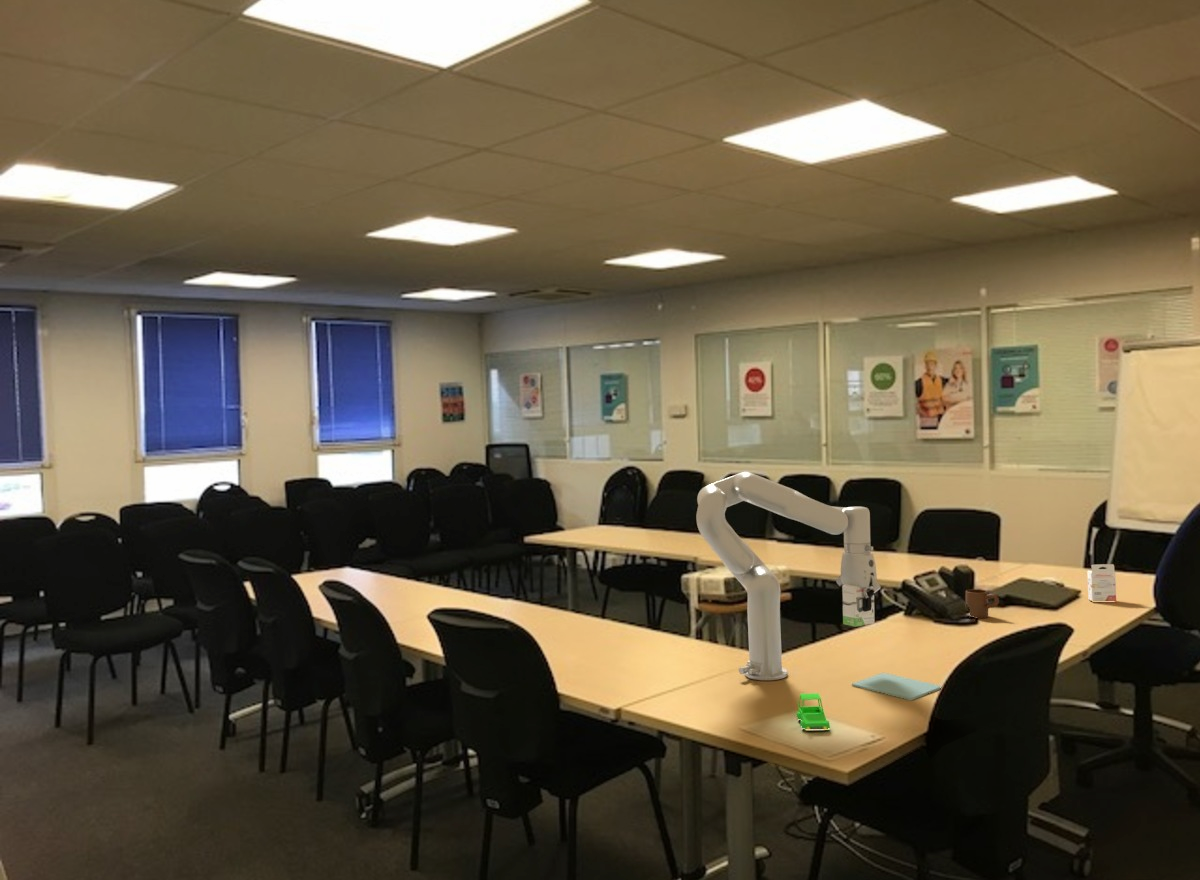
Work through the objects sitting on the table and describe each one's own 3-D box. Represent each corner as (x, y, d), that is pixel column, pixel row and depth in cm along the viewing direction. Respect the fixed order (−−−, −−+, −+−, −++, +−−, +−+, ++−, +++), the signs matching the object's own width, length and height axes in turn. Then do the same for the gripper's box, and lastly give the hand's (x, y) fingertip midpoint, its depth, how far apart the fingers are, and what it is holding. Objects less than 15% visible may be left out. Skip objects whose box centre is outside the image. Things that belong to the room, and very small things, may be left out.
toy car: (796, 718, 236) (795, 693, 236) (822, 718, 236) (821, 692, 236) (802, 734, 225) (801, 707, 225) (831, 733, 225) (829, 706, 225)
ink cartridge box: (1111, 600, 354) (1110, 562, 354) (1116, 603, 349) (1115, 564, 349) (1087, 600, 356) (1086, 562, 355) (1092, 603, 351) (1091, 564, 350)
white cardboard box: (854, 627, 270) (854, 587, 269) (842, 624, 274) (841, 584, 274) (875, 623, 274) (874, 583, 274) (862, 620, 278) (861, 581, 278)
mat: (911, 700, 246) (911, 698, 246) (851, 685, 261) (851, 683, 261) (942, 688, 255) (942, 686, 255) (883, 674, 270) (883, 672, 270)
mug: (1004, 618, 333) (1003, 592, 333) (993, 621, 328) (993, 595, 328) (972, 613, 342) (971, 588, 342) (962, 617, 338) (961, 591, 337)
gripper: (889, 549, 269) (890, 611, 270) (841, 544, 282) (842, 603, 283) (874, 552, 264) (875, 615, 265) (825, 547, 278) (827, 606, 278)
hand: (858, 608), depth 274 cm, fingers closed on white cardboard box, 5 cm apart
